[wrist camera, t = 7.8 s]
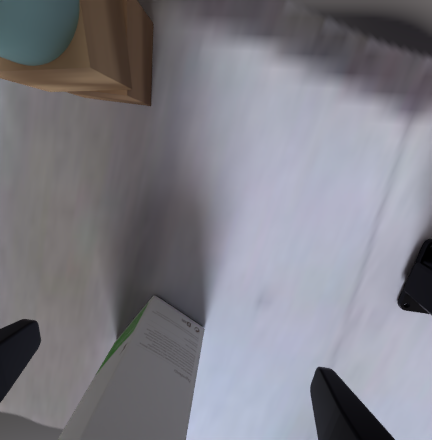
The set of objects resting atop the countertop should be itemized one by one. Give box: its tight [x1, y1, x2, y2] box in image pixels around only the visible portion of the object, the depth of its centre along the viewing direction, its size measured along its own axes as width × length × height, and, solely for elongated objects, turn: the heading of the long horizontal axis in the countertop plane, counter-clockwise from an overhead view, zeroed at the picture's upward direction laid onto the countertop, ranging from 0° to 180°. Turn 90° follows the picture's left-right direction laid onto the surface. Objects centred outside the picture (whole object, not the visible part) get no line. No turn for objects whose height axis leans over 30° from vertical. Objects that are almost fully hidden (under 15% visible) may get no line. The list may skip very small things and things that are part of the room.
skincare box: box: [58, 296, 205, 440], centre depth 17 cm, size 8×7×16 cm
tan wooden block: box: [0, 0, 132, 92], centre depth 11 cm, size 5×5×4 cm
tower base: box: [66, 0, 153, 106], centre depth 15 cm, size 5×5×4 cm
